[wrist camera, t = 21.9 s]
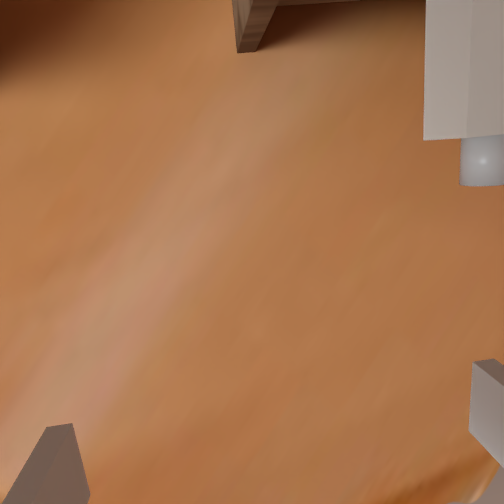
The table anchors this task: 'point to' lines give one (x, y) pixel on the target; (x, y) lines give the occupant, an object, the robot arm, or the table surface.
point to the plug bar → (467, 84)
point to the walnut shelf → (258, 19)
